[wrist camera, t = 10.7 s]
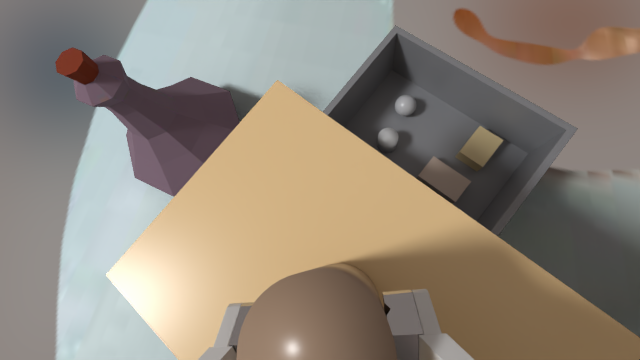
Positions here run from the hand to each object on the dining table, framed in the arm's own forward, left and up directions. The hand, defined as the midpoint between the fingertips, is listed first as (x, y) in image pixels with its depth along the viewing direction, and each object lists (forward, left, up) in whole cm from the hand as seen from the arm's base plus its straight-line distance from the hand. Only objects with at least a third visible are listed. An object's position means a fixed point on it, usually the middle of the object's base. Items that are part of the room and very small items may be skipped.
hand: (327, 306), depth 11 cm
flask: (+1, -27, -27) cm, 38 cm away
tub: (-17, -2, -27) cm, 32 cm away
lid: (+1, 0, -7) cm, 7 cm away
